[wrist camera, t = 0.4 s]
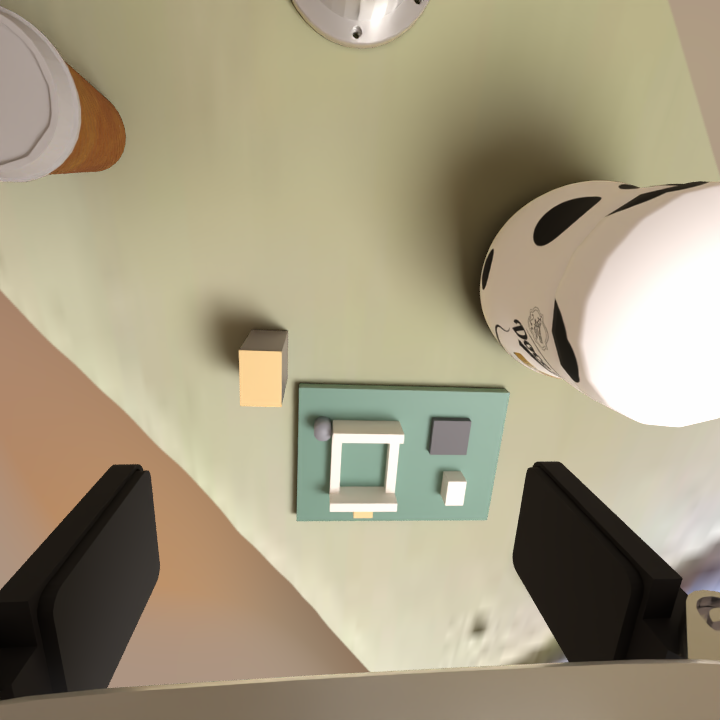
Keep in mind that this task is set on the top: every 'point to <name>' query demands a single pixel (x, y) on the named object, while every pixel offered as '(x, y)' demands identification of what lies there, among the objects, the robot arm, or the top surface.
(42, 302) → the top surface
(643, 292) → the milk container
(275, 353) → the plug
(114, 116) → the disposable coffee cup
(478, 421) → the board
